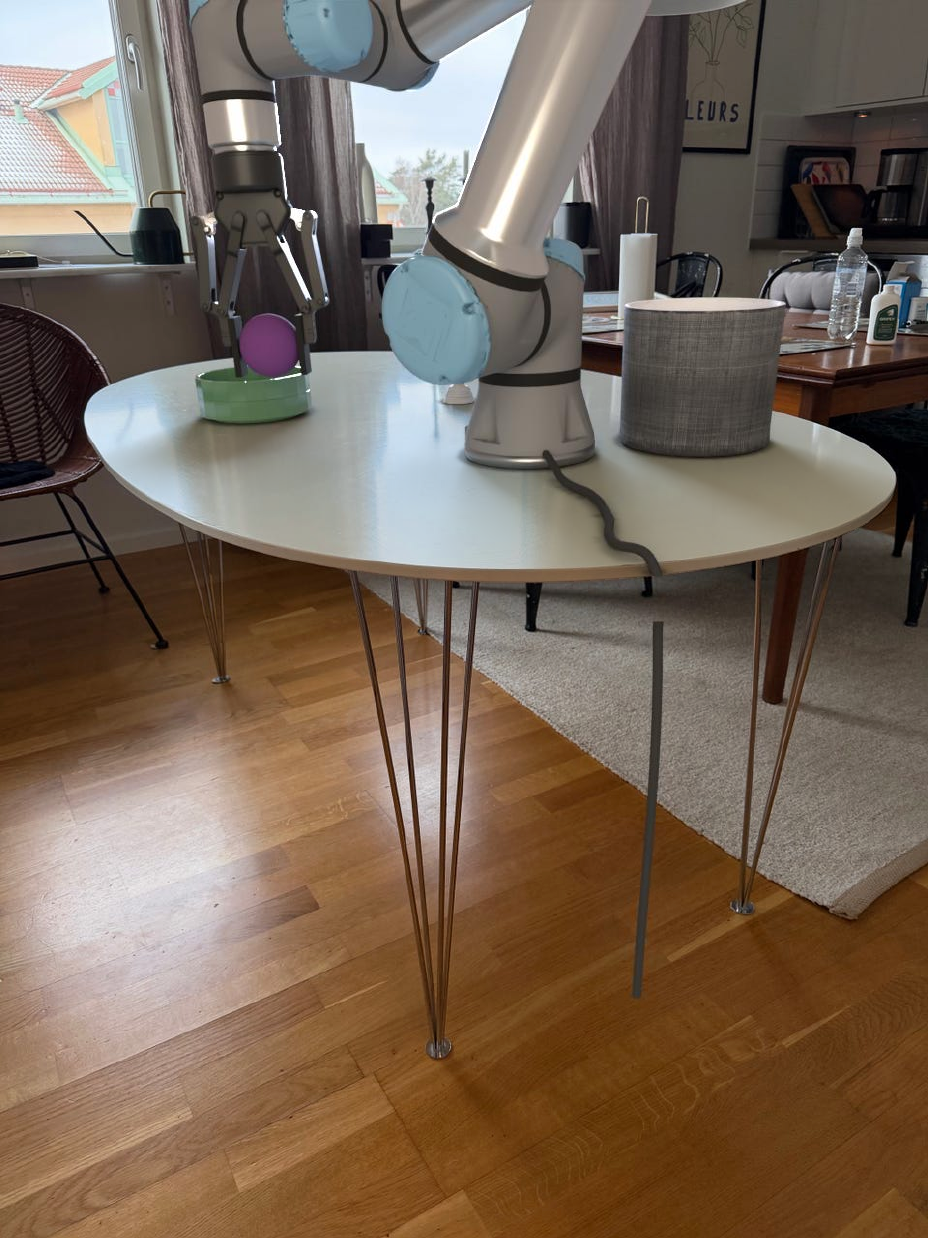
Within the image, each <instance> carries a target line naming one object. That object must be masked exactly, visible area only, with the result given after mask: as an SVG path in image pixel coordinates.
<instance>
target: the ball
mask: <svg viewBox="0 0 928 1238" xmlns="http://www.w3.org/2000/svg"><path fill="white" fill-rule="evenodd" d="M239 346H240V352H241V355H242V357H243V359H244V361H245V363H246V364H247V366H249V367H250V368H251V369H252V370H253V371H254V372H256V373H258V374H260V375H262V376H266V377H279V376H282V375H285V374H287V373H288V372H290V371H291V370H292V369H293V368H294V367H295V366H297V364H298V363H299V356H298V347H297V339H296V330H295V325H294V324H292V322H290V321H289V320H288V319H287V318H285V317H283V316H281V315H278V314H276V313H262V314H258V315H256V316H254V317H252V318H250V320H248V321H247V322H246V323H245V324H244V326H243V327H242V332H241V335H240V340H239Z"/></svg>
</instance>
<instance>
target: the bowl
mask: <svg viewBox="0 0 928 1238" xmlns="http://www.w3.org/2000/svg"><path fill="white" fill-rule="evenodd" d="M247 367H248V374H247V375H245V376H243V377H236V375H235V369H234V366H233V367H225V368H224V367H223V368H218V369H213V370H208V371H204V372H201V373H198V374H197V375H195V376H194V380H195V381H194V382H195V387H196V394H197V400H198V406H199V414H200V417H202V418H204V419H206V420H212V421H213V420H214V421H216V422H220V423H224V424H225V423H226V424H259V423H268V422H270V423H271V422H277V421H281V420H287V419H291V418H294V417H296V416H298V415H300V414H304V413H306V412H308V411H309V410H310V409H312V408H313V403H312V394H311V393H312V392H311V384H310V373H309V374H308V375H301V373H300V365H299V366H298V365H296V366H295V367H294V368H293V369H292V370H291V371H290V372H288V373H287V374H285V375H282V376H279V377H266V376H262V375H260V374H258V373H256V372H254V371H253V370H252V369H251V368H250V367H249V366H248V365H247Z"/></svg>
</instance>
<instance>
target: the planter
mask: <svg viewBox="0 0 928 1238" xmlns="http://www.w3.org/2000/svg"><path fill="white" fill-rule="evenodd" d="M786 306H787V303H786V302H784V301H781V300H776V299H768V298H754V297H753V298H752V297H677V298H676V297H675V298H674V297H673V298H659V299H658V298H657V299H646V300H638V301H632V302H628V303H625V304H624V309H623V333H622V335H623V336H622V360H621V385H620V386H621V387H620V388H621V390H620V391H621V393H620V414H619V429H618V439H619V441H620V442H621V444H623V445H624V446H626V447H628V448H631V449H633V450H637V451H641V452H646V453H650V454H656V455H662V456H672V457H683V458H685V457H686V458H717V457H719V458H720V457H730V456H737V455H742V454H749V453H753V452H756V451H759V450H762V449H763V448H765V447H767V446H768V445H769V443H770V438H771V427H772V425H771V424H772V417H773V409H774V402H775V401H774V400H775V395H776V386H777V378H778V371H779V363H780V354H781V347H782V341H783V340H782V339H783V330H784V324H785V315H786V308H787V307H786Z"/></svg>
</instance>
